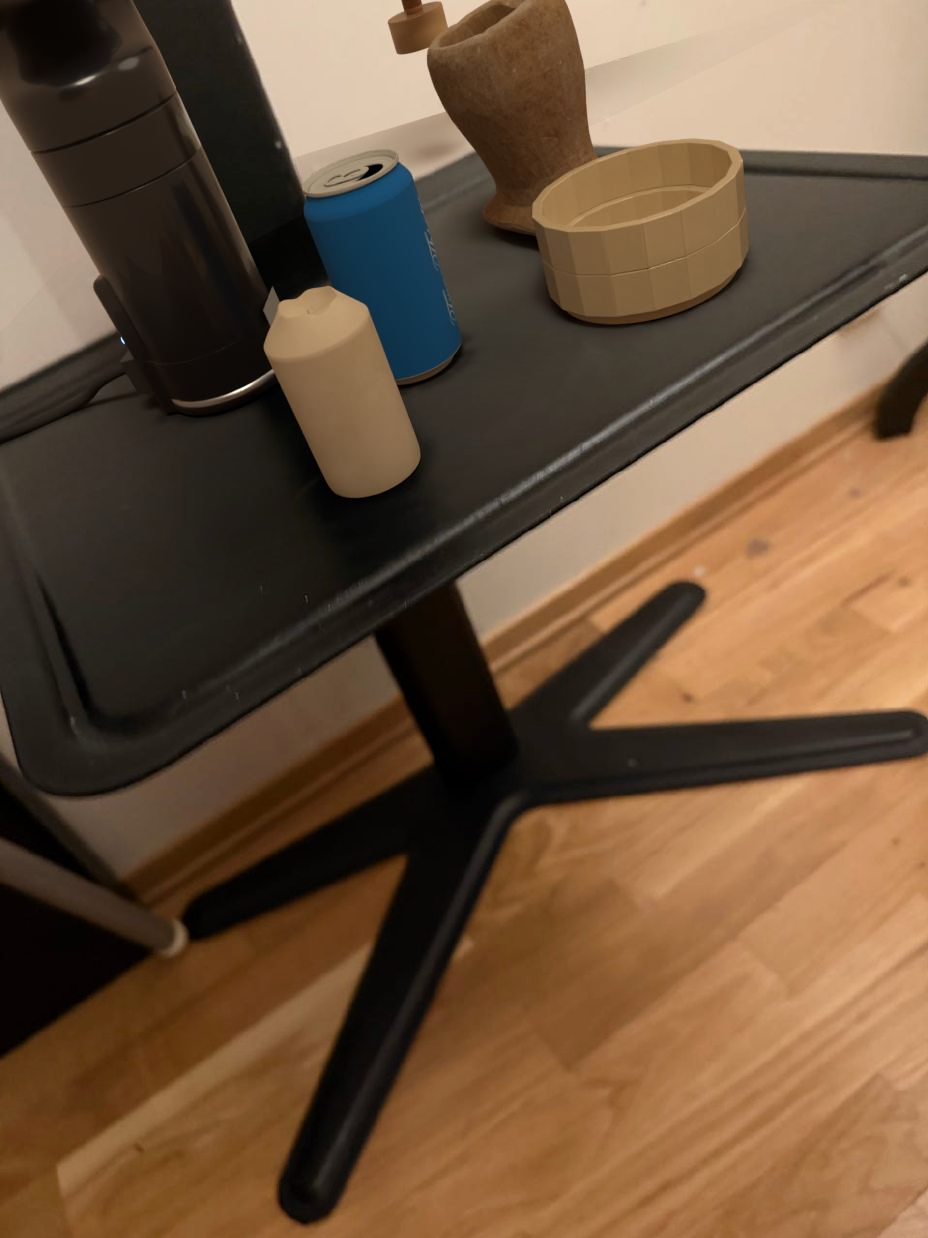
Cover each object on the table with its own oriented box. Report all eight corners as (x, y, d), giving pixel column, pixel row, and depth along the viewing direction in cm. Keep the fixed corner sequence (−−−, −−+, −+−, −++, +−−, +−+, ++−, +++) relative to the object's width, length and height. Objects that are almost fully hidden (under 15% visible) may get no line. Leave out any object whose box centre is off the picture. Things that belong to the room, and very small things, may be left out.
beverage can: (464, 376, 54) (400, 173, 47) (364, 401, 56) (285, 207, 48) (466, 327, 59) (408, 135, 51) (374, 351, 60) (303, 168, 53)
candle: (385, 505, 47) (310, 330, 40) (309, 493, 50) (228, 328, 43) (440, 443, 50) (379, 271, 43) (365, 435, 53) (297, 272, 46)
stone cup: (449, 243, 71) (385, 27, 61) (569, 178, 73) (526, -39, 63) (562, 283, 60) (507, 28, 50) (698, 206, 62) (670, -51, 52)
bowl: (553, 348, 54) (530, 251, 50) (552, 262, 63) (532, 174, 59) (764, 299, 51) (758, 192, 47) (732, 216, 60) (724, 120, 56)
